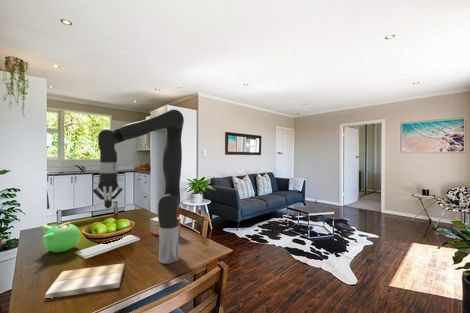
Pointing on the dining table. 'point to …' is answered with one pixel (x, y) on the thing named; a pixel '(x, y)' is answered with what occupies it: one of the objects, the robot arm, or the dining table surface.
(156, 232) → the stack of blocks
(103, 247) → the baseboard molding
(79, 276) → the honey oak plank
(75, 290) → the whitewashed oak board
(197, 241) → the dining table surface
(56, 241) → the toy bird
